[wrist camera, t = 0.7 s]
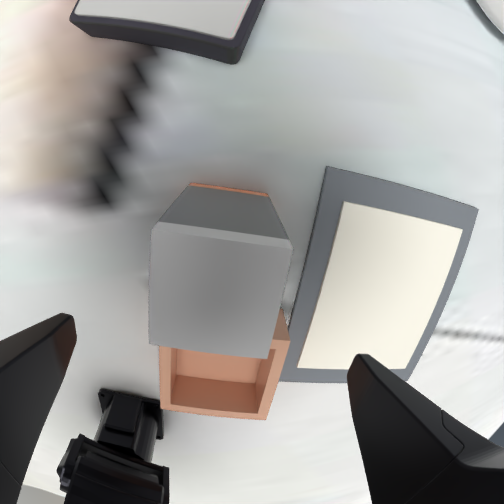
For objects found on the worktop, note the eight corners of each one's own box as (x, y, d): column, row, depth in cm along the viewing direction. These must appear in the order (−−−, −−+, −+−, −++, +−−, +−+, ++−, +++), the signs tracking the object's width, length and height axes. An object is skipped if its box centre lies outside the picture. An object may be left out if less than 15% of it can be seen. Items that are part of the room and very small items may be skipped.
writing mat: (406, 378, 28) (408, 382, 27) (273, 377, 26) (274, 383, 26) (475, 207, 21) (480, 210, 21) (326, 166, 20) (329, 167, 19)
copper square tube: (262, 386, 27) (265, 420, 23) (167, 375, 26) (160, 408, 22) (282, 308, 24) (290, 340, 20) (170, 294, 23) (159, 325, 19)
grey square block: (254, 263, 22) (267, 358, 13) (182, 254, 22) (148, 344, 12) (267, 193, 20) (293, 249, 11) (190, 182, 20) (151, 229, 11)
